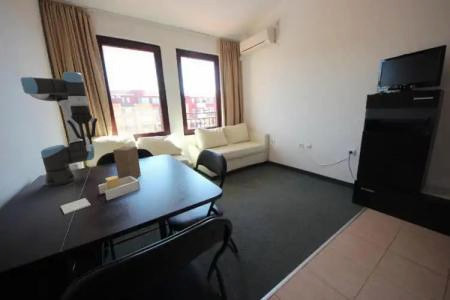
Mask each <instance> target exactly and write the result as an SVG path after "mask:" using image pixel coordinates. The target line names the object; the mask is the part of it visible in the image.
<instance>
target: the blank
mask: <svg viewBox="0 0 450 300" xmlns="http://www.w3.org/2000/svg"><path fill="white" fill-rule="evenodd" d="M105 183H106V185H107V190H109V189H112V188H116V187H119V186H120V183H119V178H118V175H112V176H109V177H105Z"/></svg>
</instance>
